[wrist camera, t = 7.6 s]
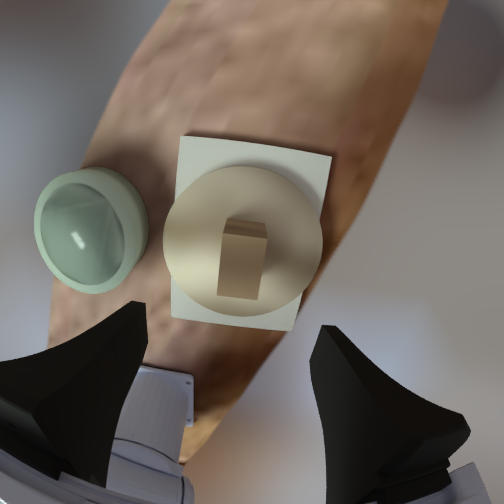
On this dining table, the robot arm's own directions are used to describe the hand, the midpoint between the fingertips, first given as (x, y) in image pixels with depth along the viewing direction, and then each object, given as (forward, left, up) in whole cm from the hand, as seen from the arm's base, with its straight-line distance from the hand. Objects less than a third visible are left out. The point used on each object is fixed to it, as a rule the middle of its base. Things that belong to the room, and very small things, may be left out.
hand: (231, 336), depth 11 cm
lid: (0, 0, -10) cm, 10 cm away
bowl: (0, +11, -10) cm, 15 cm away
